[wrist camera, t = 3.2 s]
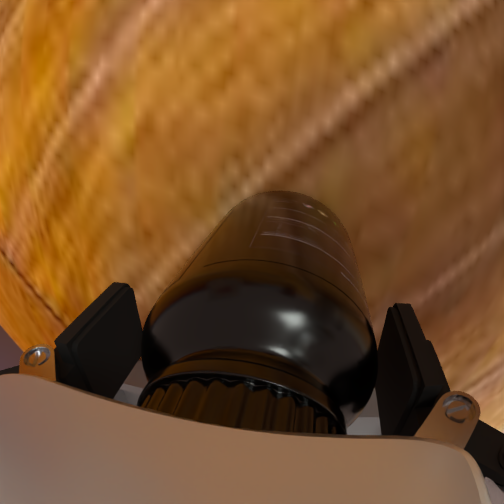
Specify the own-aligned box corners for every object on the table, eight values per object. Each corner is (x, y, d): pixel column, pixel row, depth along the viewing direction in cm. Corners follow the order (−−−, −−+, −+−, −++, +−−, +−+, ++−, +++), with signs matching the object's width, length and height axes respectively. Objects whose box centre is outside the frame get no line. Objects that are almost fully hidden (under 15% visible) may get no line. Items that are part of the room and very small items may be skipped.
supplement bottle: (303, 332, 18) (272, 546, 7) (195, 271, 17) (66, 459, 7) (381, 236, 15) (463, 474, 4) (257, 158, 14) (88, 307, 4)
